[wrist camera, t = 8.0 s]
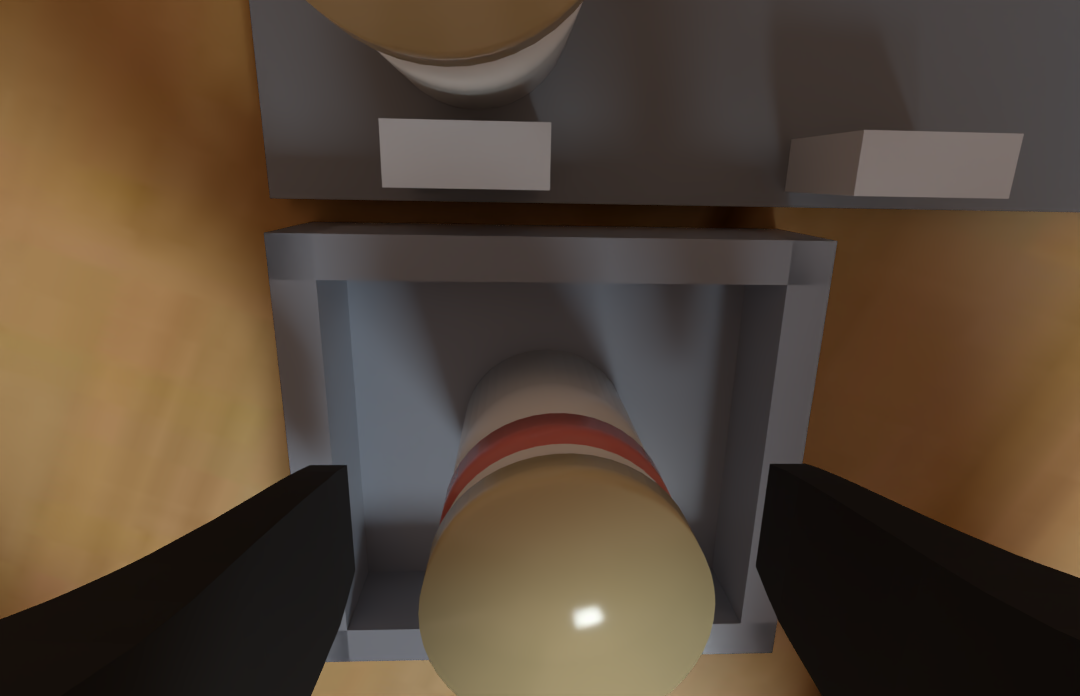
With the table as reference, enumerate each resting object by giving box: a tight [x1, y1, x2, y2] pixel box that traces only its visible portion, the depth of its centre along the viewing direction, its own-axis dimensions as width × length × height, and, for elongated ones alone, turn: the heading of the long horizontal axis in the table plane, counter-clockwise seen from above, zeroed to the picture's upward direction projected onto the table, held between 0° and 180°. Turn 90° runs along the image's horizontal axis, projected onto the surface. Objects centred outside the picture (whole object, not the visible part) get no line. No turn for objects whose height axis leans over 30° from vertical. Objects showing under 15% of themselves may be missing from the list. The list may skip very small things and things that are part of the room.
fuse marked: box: [418, 349, 715, 696], centre depth 10 cm, size 4×4×6 cm
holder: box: [249, 0, 1080, 212], centre depth 10 cm, size 7×23×3 cm, turn 89°
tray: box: [264, 222, 837, 662], centre depth 13 cm, size 9×10×2 cm
